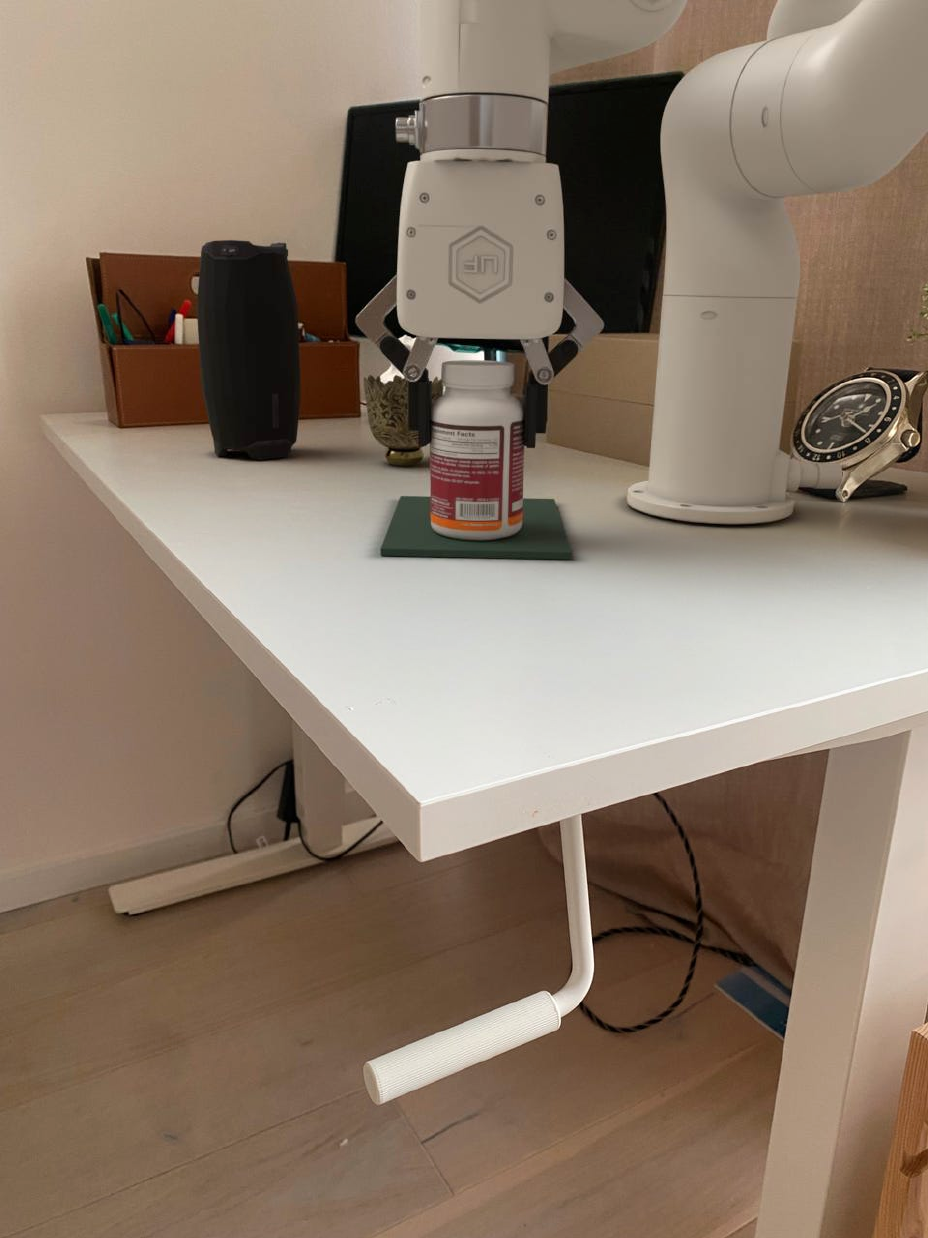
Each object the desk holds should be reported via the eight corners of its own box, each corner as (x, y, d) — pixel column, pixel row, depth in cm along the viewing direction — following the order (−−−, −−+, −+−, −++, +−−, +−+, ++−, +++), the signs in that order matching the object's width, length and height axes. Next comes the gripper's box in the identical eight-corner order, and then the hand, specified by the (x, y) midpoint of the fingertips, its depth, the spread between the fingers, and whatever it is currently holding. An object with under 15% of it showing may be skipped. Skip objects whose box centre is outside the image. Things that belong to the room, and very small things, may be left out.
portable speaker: (203, 448, 99) (189, 241, 93) (296, 445, 102) (288, 244, 96) (210, 462, 92) (195, 238, 85) (310, 459, 94) (302, 241, 88)
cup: (425, 455, 98) (425, 372, 95) (456, 467, 91) (457, 379, 89) (353, 459, 94) (352, 374, 92) (381, 472, 88) (380, 381, 86)
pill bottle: (481, 516, 70) (484, 357, 67) (541, 533, 66) (548, 363, 62) (411, 528, 66) (410, 360, 63) (469, 547, 62) (472, 368, 58)
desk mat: (554, 505, 77) (554, 498, 76) (571, 559, 62) (571, 552, 61) (400, 502, 77) (400, 495, 77) (380, 555, 62) (380, 548, 61)
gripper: (329, 128, 55) (337, 450, 61) (638, 133, 55) (616, 456, 61) (346, 146, 62) (352, 433, 68) (620, 150, 62) (602, 438, 68)
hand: (476, 441), depth 64 cm, fingers closed on pill bottle, 6 cm apart
